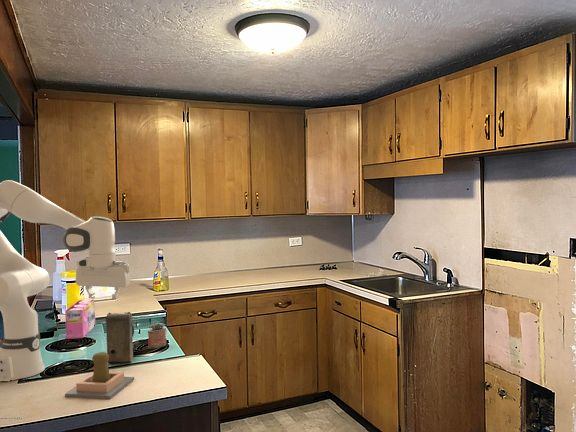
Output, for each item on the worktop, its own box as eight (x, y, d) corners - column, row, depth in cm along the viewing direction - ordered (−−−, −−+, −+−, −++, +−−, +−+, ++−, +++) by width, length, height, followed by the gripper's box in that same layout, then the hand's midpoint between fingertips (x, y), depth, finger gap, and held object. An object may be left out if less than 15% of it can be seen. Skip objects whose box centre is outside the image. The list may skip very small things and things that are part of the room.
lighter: (164, 343, 207) (163, 321, 207) (167, 345, 205) (167, 322, 204) (147, 347, 202) (146, 324, 202) (150, 349, 200) (149, 326, 199)
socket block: (65, 396, 153) (64, 386, 153) (93, 377, 168) (93, 368, 168) (110, 399, 150) (109, 388, 150) (134, 379, 166) (134, 370, 166)
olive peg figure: (114, 383, 160) (113, 351, 160) (99, 389, 155) (98, 357, 155) (103, 380, 163) (102, 349, 163) (88, 386, 158) (87, 354, 158)
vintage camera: (142, 352, 198) (140, 305, 198) (131, 363, 182) (129, 312, 182) (119, 353, 198) (117, 306, 198) (106, 364, 182) (104, 313, 182)
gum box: (80, 325, 242) (79, 299, 241) (96, 324, 243) (95, 298, 242) (65, 339, 218) (64, 310, 217) (83, 338, 219) (82, 309, 219)
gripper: (133, 260, 172) (133, 297, 173) (83, 259, 176) (84, 295, 176) (124, 262, 166) (124, 301, 166) (72, 261, 170) (73, 299, 170)
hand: (103, 298), depth 171 cm, fingers open, 8 cm apart
